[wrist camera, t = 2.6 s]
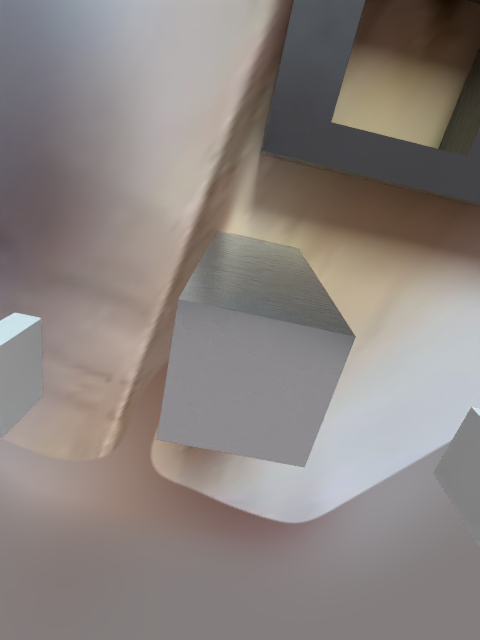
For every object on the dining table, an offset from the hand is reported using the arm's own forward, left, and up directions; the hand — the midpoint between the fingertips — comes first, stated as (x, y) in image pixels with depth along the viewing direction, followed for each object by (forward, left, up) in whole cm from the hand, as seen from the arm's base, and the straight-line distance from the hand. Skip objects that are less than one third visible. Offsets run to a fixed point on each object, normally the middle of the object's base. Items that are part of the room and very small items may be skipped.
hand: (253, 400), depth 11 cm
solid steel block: (0, 0, -12) cm, 12 cm away
